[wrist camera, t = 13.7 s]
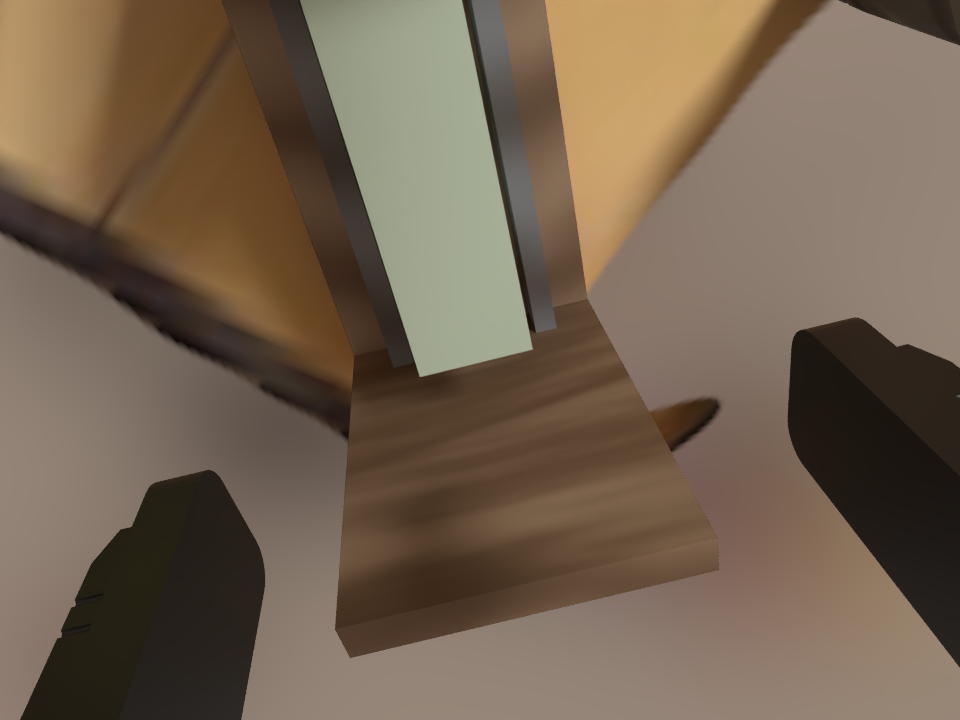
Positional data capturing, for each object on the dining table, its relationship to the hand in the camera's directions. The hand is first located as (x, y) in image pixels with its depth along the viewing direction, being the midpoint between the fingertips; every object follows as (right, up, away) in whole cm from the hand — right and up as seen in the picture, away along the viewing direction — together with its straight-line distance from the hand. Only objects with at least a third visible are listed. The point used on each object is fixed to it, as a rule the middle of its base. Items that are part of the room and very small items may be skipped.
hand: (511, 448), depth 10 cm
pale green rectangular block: (-3, +11, +19) cm, 23 cm away
